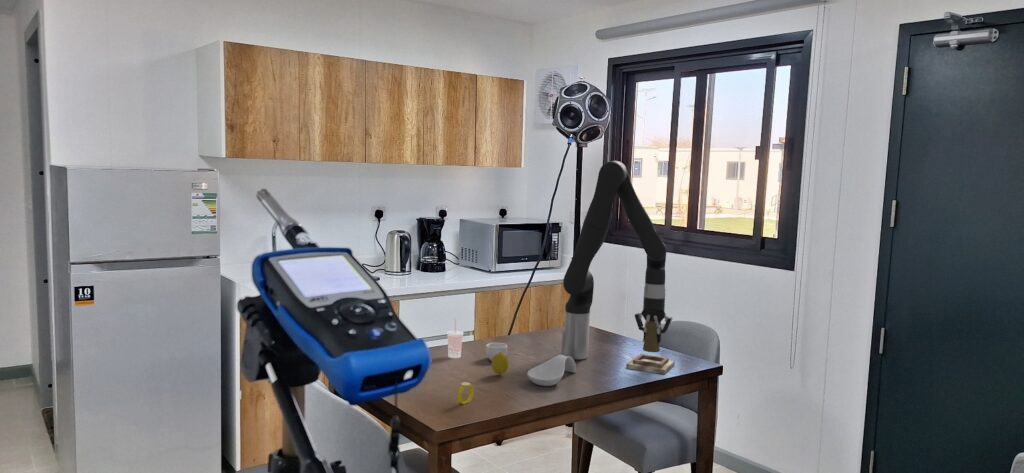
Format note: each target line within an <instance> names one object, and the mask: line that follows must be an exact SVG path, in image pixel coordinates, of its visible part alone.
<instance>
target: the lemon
mask: <svg viewBox="0 0 1024 473" xmlns="http://www.w3.org/2000/svg"><path fill="white" fill-rule="evenodd" d="M491 367H492V370H493V372H494V373H495V374H497V375H498V376H502V375H503V374H504V373H506V372H507V371H508V368H509V359H508V357H507V354H506V355H505V354H503V353H502V352H500V353H498V354H496V355H495V356H494V357H493V360H491Z"/></svg>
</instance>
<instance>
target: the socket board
mask: <svg viewBox="0 0 1024 473" xmlns="http://www.w3.org/2000/svg"><path fill="white" fill-rule="evenodd" d="M625 366H626V369H632V370H637V371H642V372H649V373H655V374H660V373H662V374H661V375H666V374H667V373H668V372H669V371H671V369H672V368H674V366H675V360H671V359H670V358H669V357H663V356H658V355H652V354H645V353H640V354H637V355H636V356H635V357H632V359H631V360H630V361H628V362H627V363H626V364H625ZM666 372H667V373H666ZM665 373H666V374H665Z"/></svg>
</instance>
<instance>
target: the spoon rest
mask: <svg viewBox="0 0 1024 473" xmlns="http://www.w3.org/2000/svg"><path fill="white" fill-rule="evenodd" d="M565 372H569V373H573V374H576V373H577V365H576V361H575V359H573V358H572V357H570V356H564V355H561V354H557V355H555V356H554V357H552V358H550V359H549V360H546V361H544V362H543V363H540V364H539V365H537V366H534V367H532V368H530V369H529V370H528V371H527V373H526V374H527V377H528V379H529V380H530V381H531V382H532V383H534V384H535V385H537V386H542V387H552V386H554V385H556V384H557V383H559V382H560V381H561V380H562V378H563V376H564V373H565Z"/></svg>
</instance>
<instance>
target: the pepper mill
mask: <svg viewBox="0 0 1024 473" xmlns="http://www.w3.org/2000/svg"><path fill="white" fill-rule="evenodd" d="M659 325H660V323H659ZM646 329H647V331H646V336H645V340H644V339H643V347H642V350H643V352H647V353H659V352H661V346H660V343H658V344H657V325H656V323H655V321H649V322H647V323H646Z"/></svg>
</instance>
